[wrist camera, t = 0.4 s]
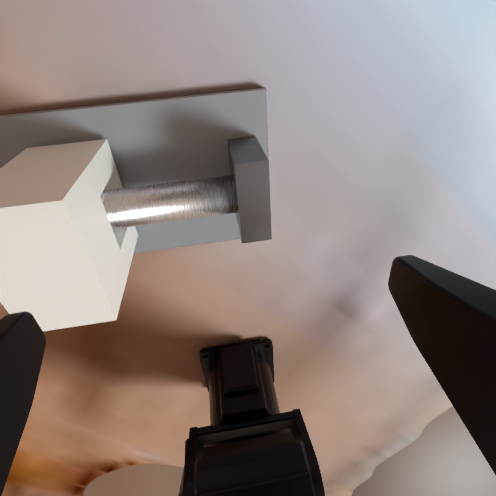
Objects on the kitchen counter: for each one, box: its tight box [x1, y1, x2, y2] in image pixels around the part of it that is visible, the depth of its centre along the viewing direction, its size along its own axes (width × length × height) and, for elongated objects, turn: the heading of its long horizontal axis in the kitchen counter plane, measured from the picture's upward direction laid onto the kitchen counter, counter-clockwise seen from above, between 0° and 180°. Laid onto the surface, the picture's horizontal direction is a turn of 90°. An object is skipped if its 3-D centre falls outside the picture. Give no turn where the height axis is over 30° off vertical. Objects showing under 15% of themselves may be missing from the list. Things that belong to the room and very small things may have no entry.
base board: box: [0, 87, 271, 253], centre depth 19 cm, size 31×9×1 cm, turn 94°
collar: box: [0, 139, 138, 331], centre depth 16 cm, size 4×6×7 cm, turn 4°
